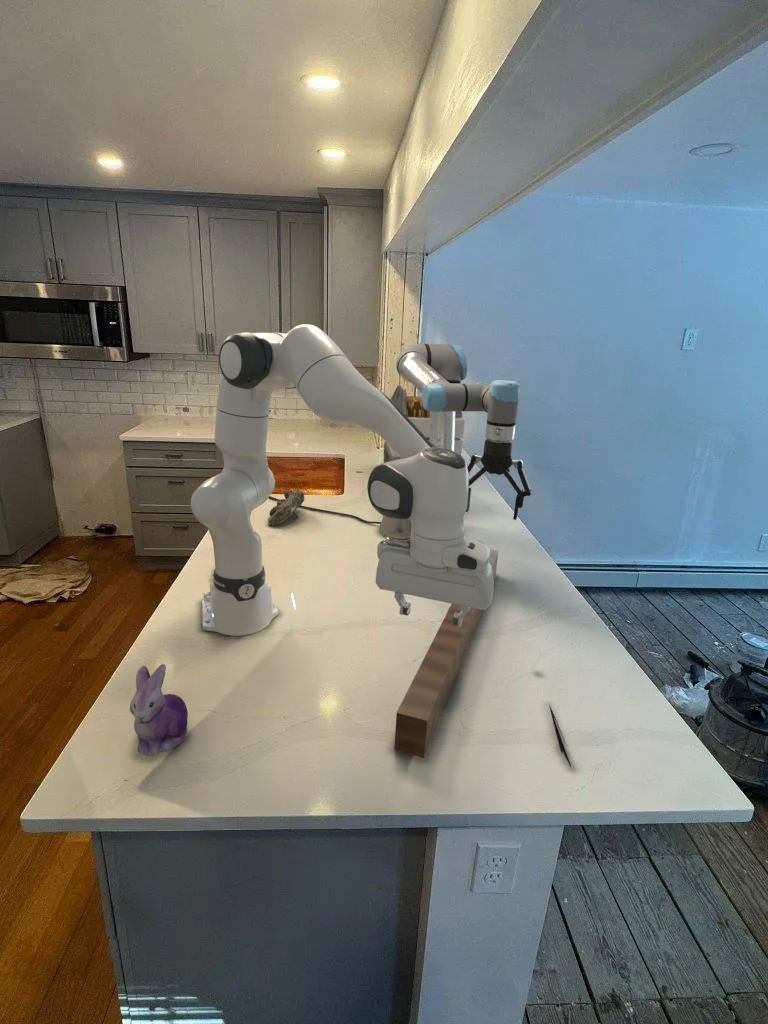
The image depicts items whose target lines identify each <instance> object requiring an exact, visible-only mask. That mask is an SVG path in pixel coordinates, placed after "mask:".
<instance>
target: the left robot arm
mask: <svg viewBox="0 0 768 1024" xmlns="http://www.w3.org/2000/svg"><path fill="white" fill-rule="evenodd" d="M218 352H219V354H218V365H219V369H220V372H221V374H222V375H221V378H220V383H219V387H218V393H217V402H216V412H215V426H214V443H215V445H216V448H218V450H220V451H221V454H222V458H223V468H222V471H221V472H220V473H218V474H216V475H214V476H212V477H209V478H208V479H206V480H205V481H204V482H203V483H201V485H199V486H198V487H197V488H196V489H195V490H194V492H193V493H192V495H191V498H190V508H191V512H192V514H193V516H194V518H195V519H196V521H198V522H199V523H200V524H201V525H202V526H204V527H206V528H207V530H208V532H209V535H210V538H211V541H212V547H213V557H214V570H213V574H212V580H213V581H212V582H210V584H209V591H205V592H202V594H203V595H202V597H203V598H202V599H201V619H202V620H201V621H202V630H204V631H207V632H216V633H219V634H222V635H227V636H235V637H237V636H247V635H252V634H255V633H258V632H261V631H262V630H264V629H265V628H267V627H268V626H269V625H270V624H271V623H272V622H271V621H273V619H275V617H277V616H278V615H279V609H278V608H277V607H276V606H275V605H273V595H272V587H271V585H269V584H268V583H267V582H266V571H265V566H264V565H263V540H262V537H261V535H260V534H259V533H258V532H257V531H255V530H254V527H253V525H252V520H251V516H252V513H253V511H255V510H256V509H257V508H258V507H261V506H262V505H263V504H264V503H266V501H267V500H268V497H269V496H271V495H272V493H273V492H274V489H275V486H276V480H275V476H274V473H273V472H272V470H271V469H270V467H269V463H268V457H267V456H268V455H267V440H268V439H267V438H268V427H269V420H270V419H269V418H270V409H271V407H270V406H271V397H272V393H273V392H274V391H277V390H283V389H286V390H291V389H296V391H297V393H298V394H299V395H300V397H301V399H302V401H303V402H304V403H305V405H307V407H308V408H309V409H310V410H311V412H312V413H314V415H316V416H317V417H318V418H320V419H322V420H323V421H326V422H328V423H331V424H332V423H333V424H338V425H346V426H352V427H356V428H357V427H358V428H361V429H365V430H368V431H371V432H373V433H375V434H376V435H378V436H379V437H380V438H381V439H382V440H383V441H384V442H387V444H388V445H389V446H390V447H391V448H392V449H393V450H394V451H395V453H396V454H397V455H398V456H399V457H400V458H401V459H398V460H394V461H390V462H386V463H384V462H383V463H381V464H378V465H376V466H375V467H373V469H372V470H371V472H370V473H369V476H368V479H367V495H368V500H369V502H370V504H371V506H372V507H373V509H374V510H375V511H376V512H378V514H380V515H381V516H382V517H383V516H386V517H390V518H396V519H408V520H410V521H411V523H412V526H411V540H395V539H392V538H387V537H385V539H382V540H380V541H379V542H378V544H377V550H376V555H377V558H378V563H377V567H376V572H375V580H374V581H375V585H376V586H377V588H378V589H379V590H384V591H388V592H394V596H393V597H394V599H395V601H396V602H397V604H398V606H399V615H403V616H407V617H408V616H409V614H411V607H412V603H411V602H407V600H406V597H405V595H408V596H413V597H417V598H423V599H428V600H433V601H437V602H438V601H439V602H443V603H448V604H457V605H461V606H460V610H462V611H461V612H460V613H455V614H454V616H453V620H452V621H453V622H452V625H454V626H458V627H461V625H462V621H463V617H464V616H465V615H466V614H467V613H468V611H469V609H470V607H472V608H477V609H481V610H482V611H485V610H487V609H488V608H489V607H490V606H491V604H492V602H493V598H494V589H495V587H494V584H495V582H494V581H495V578H494V579H493V569H492V567H491V565H490V563H489V562H488V561H489V558H490V549H491V547H489V546H488V545H486V544H484V543H482V542H480V541H479V540H476V539H474V538H472V537H470V536H468V535H466V534H465V533H466V529H465V523H464V518H465V514H466V513H467V512H466V510H467V504H468V490H469V488H470V486H469V480H470V478H469V474H468V468H467V467H468V465H467V460H466V459H465V458H464V457H463V456H462V454H461V455H459V454H458V453H456V452H454V451H452V450H449V449H443V448H438V447H436V446H434V445H433V444H432V443H431V442H430V441H429V440H428V439H427V438H426V437H425V436H424V435H423V434H422V433H421V432H420V430H419V429H418V428H417V427H416V426H415V425H414V424H413V423H412V422H411V421H410V419H409V418H408V417H407V416H406V415H405V414H404V413H403V412H402V411H401V410H400V408H399V407H398V406H397V405H396V404H395V403H394V402H393V401H392V400H391V398H390V397H389V396H387V395H386V394H385V393H384V392H382V391H381V390H380V389H378V388H377V387H375V385H373V384H372V383H370V381H368V380H367V378H365V377H364V375H362V374H361V373H360V372H359V371H358V369H357V368H356V367H355V366H354V365H353V364H352V363H351V361H350V360H349V358H348V357H347V356H346V354H345V353H344V352H343V351H342V349H341V348H340V347H339V346H338V344H337V343H335V342H334V340H333V339H332V338H330V337H329V335H328V334H327V333H326V332H324V331H323V330H322V329H321V328H319V327H318V326H316V325H314V324H308V323H306V324H299V325H296V326H295V327H292V328H291V329H290V330H288V331H287V333H285V332H275V331H272V332H254V333H253V332H250V331H242V332H237V333H232V334H230V335H228V336H227V337H226V338H225V339H224V340H223V342H222V343H221V346H220V348H219V351H218ZM290 594H291V601H292V604H293V605H292V606H293V608H294V611H296V610H297V609H296V608H297V606H296V602H295V598H294V593H293V592H292V593H290Z"/></svg>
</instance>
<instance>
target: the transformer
mask: <svg viewBox="0 0 768 1024" xmlns="http://www.w3.org/2000/svg"><path fill="white" fill-rule="evenodd" d="M407 394H408V393H407V390H406V389H404V388H403V387H402V385H399V384H398V385H397V386H396V388H395V390H394V392H393V394H392V395H391V398H390V399H391V400H392V401H393V402H394V403H395V404H396V405H397V406H398V407H399V408H400V410H401V411H402V412H403V413H404V414H405V415H406V416H407V417H408V418H409V419H410V421H411V422H412V423H413V424H414V425H415V426H416V427H417V428H418V429H419V430H420V432H421V433H422V434H423V435H424V436H425V437H426V438H427V439H428V440H429V441H430V411H427V410H425V409H424V407H423V404H422V396H415V395H414V396H413V395H412V396H411V395H407ZM464 429H465V419H464V418H463V411H455V437H454V452H456V453H458V454H459V455H461V456H462V453H463V442H464V441H463V440H462V439H463V438H464V431H465V430H464ZM398 459H401V458H400V457H399V456H398V455H397V454H396V453H395V451H394V450H393V449H392V448H391V447H390V446H389V445H388V444H387V442H386V441H384V442H383V463H386V462H390V461H394V460H398Z"/></svg>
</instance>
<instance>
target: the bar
mask: <svg viewBox="0 0 768 1024" xmlns="http://www.w3.org/2000/svg"><path fill="white" fill-rule="evenodd" d="M499 552H500V551H499V550H496V549H491V548H490V558H489V561H488V562H489V563H490V565H491V567H492V569H493V579H494V580H495V578H496V575H497V568H498V560H499ZM450 604H451V605H450V606H449V608H448V610H447V612H446V614H445V616H444V618H443V620H442V622H441V624H440V626H439V628H438V630H437V632H436V634H435V636H434V638H433V640H432V642H431V643H430V646H429V648H428V650H427V652H426V654H425V656H424V657H423V660H422V662H421V663H420V665H419V667H418V669H417V671H416V673H415V675H414V677H413V680H412V681H411V683H410V685H409V687H408V688H407V691H406V693H405V695H404V697H403V699H402V700H401V703H400V705H399V707H398V709H397V711H396V713H395V714H396V715H395V732H394V746H393V747H394V748H393V749H394V751H397V752H402V753H405V754H408V755H412V756H415V757H418V758H422V759H425V757H426V754H427V752H428V749H429V747H430V744H431V742H432V740H433V736H434V734H435V731H436V729H437V726H438V724H439V721H440V718H441V716H442V714H443V712H444V709H445V705H446V703H447V701H448V698H449V695H450V694H451V690H452V688H453V686H454V683H455V681H456V678H457V675H458V673H459V670H460V668H461V665H462V663H463V660H464V657H465V655H466V652H467V650H468V648H469V644H470V642H471V639H472V637H473V634H474V632H475V629H476V628H477V627H476V626H477V624H478V622H479V619H480V616H481V614H482V612H483V610H481V609H477V608H472V607H470V609H469V611H468V613H467V614H466V615H465V616H464V617H463V621H462V625H461V627H458V626H454V625H452V622H453V621H452V620H453V616H454V614H455V613H460V612H461V611H462V610H460V606H461V605H457V604H452V603H450Z"/></svg>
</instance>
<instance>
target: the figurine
mask: <svg viewBox="0 0 768 1024" xmlns="http://www.w3.org/2000/svg"><path fill="white" fill-rule="evenodd" d="M166 672H167V665H166V664H164V663H161V664H160V665H159V666H157V668H156V669H155V670H154V671H153V673H152V674H151V673H150V671H149V668H148V667H147V666H146V665H141V666H140V667H139V668H138V670H137V672H136V679H135V686H136V688H135V689H136V690H135V693H134V695H133V696H132V699H131V700H130V704H129V711H130V714H131V715H132V716H133V717H134V722H133V730H134V732H135V734H136V736H137V738H138V739H137V740H138V743H137V747H136V750H137V753H138V754H140V755H144V756H147V757H156V756H157V755H159V754H160V753H167V752H170V751H171V750H173V749H174V748H175V747H177V746H178V745H180V744H181V743H182V742H183V741H184V740H185V739H186V738H187V734H188V722H189V721H188V718H189V711H188V707H187V704H186V702H185V701H184V700H183V698H182V697H181V696H179V695H178V694H174V693H166V694H163V692H162V687H163V684H164V680H165V677H166Z"/></svg>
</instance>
